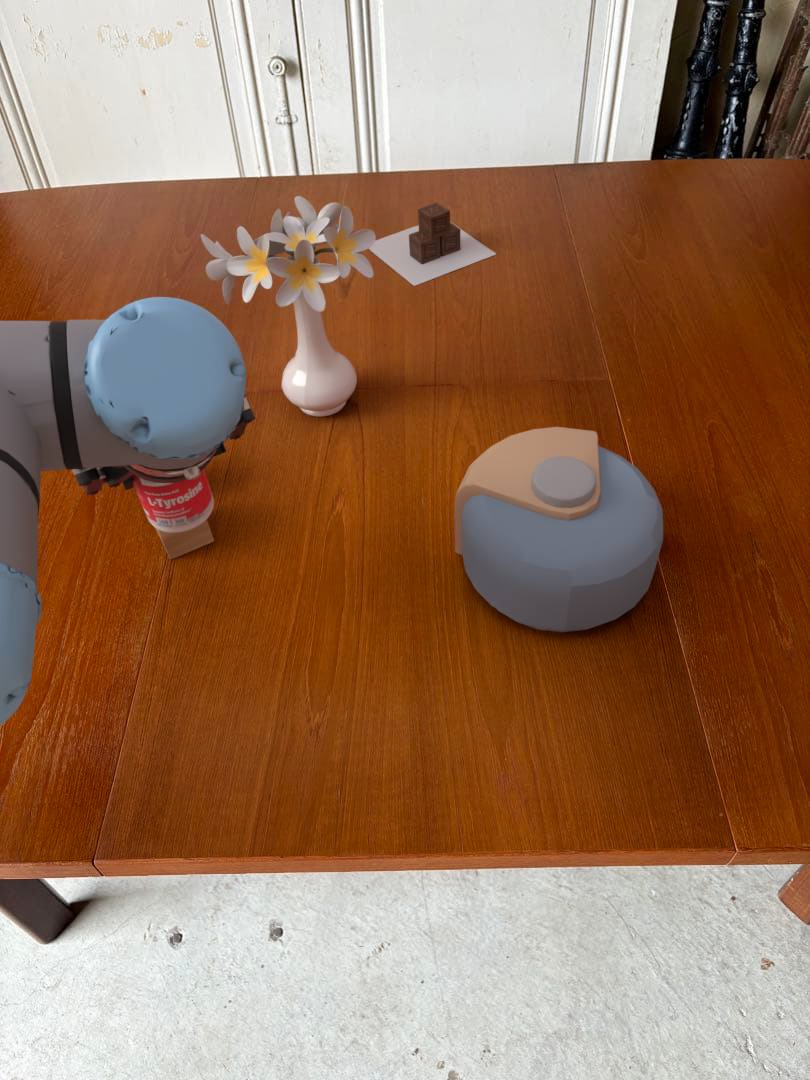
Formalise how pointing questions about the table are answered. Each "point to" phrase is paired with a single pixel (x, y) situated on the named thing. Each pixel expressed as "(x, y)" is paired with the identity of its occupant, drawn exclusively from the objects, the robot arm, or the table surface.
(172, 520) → the pill bottle
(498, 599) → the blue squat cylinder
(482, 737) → the table surface
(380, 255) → the stack of crates
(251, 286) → the flower vase
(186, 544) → the maple block
